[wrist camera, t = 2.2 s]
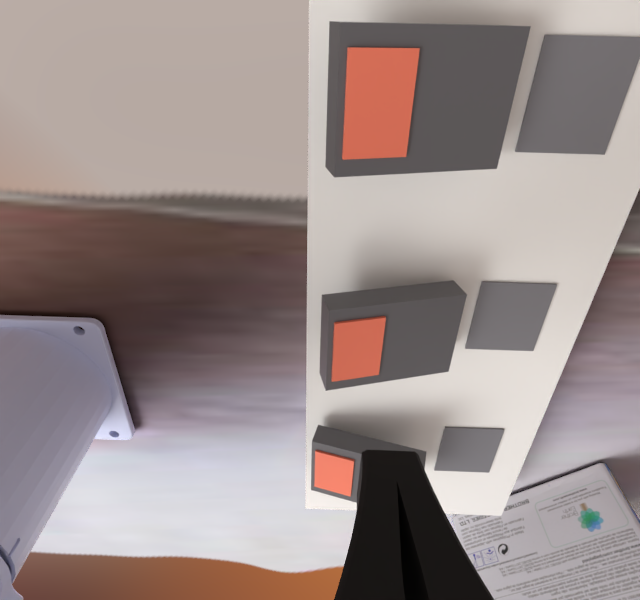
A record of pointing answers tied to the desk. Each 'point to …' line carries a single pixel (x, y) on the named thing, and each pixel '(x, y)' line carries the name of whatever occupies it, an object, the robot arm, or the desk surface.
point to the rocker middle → (388, 333)
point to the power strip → (481, 240)
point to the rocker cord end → (419, 96)
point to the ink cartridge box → (558, 541)
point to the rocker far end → (344, 460)
